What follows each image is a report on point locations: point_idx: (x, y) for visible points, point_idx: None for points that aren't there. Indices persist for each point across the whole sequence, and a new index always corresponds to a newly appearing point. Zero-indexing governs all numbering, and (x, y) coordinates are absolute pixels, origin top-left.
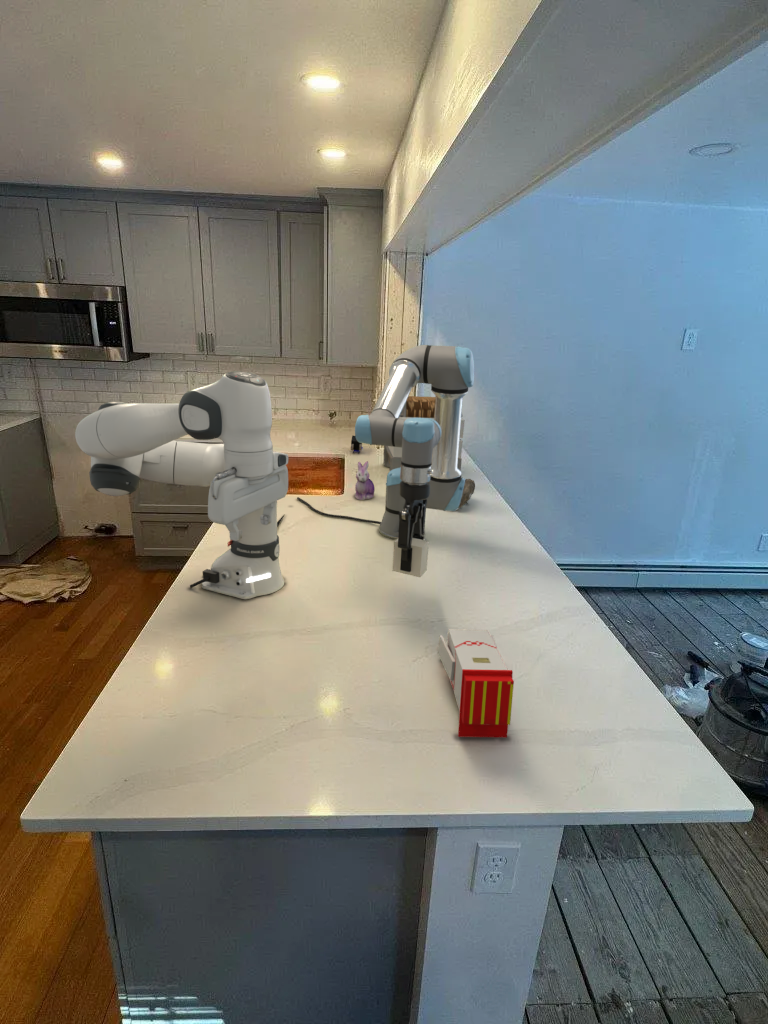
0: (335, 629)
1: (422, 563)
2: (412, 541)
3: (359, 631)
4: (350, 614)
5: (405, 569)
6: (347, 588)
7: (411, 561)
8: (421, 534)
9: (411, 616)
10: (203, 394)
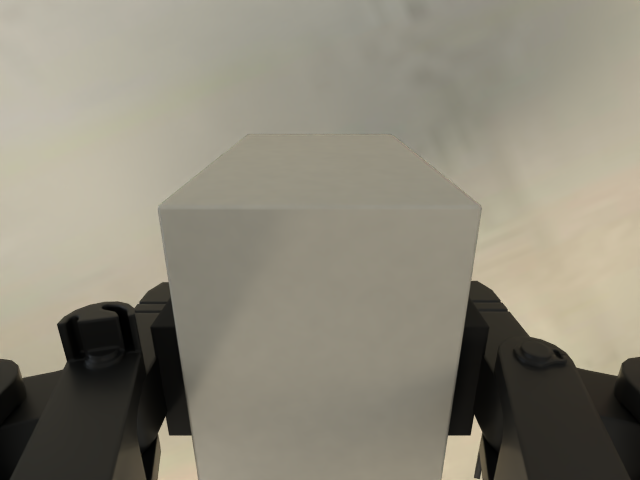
0: (607, 331)
1: (370, 151)
2: (324, 396)
3: (598, 257)
4: None
5: None
6: None
7: None
8: (64, 385)
9: (409, 122)
10: None
